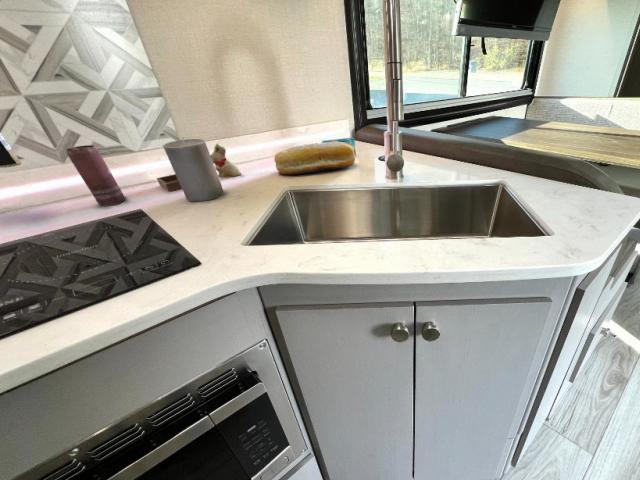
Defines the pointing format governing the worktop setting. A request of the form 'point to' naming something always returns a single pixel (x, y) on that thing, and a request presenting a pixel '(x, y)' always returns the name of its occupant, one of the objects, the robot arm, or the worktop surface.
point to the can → (96, 174)
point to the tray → (169, 183)
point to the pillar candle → (194, 169)
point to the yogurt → (344, 140)
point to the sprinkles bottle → (18, 162)
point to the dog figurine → (223, 163)
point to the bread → (315, 158)
